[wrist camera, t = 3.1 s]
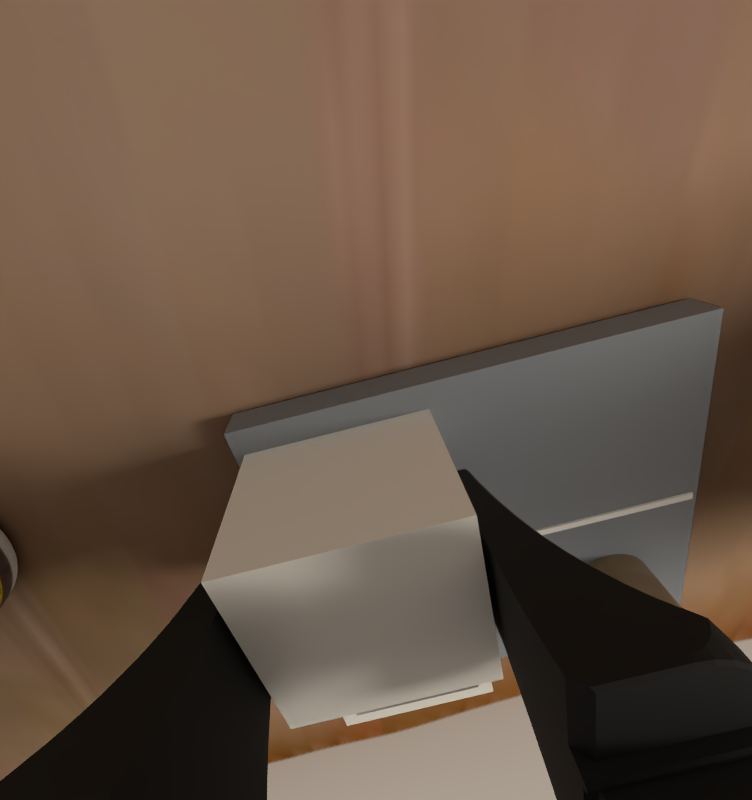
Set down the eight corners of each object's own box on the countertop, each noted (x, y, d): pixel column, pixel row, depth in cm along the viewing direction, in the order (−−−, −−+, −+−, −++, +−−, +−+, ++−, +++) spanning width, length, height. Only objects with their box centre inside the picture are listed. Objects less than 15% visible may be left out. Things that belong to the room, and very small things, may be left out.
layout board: (689, 298, 12) (845, 342, 9) (658, 590, 18) (743, 694, 14) (232, 414, 13) (190, 506, 9) (345, 665, 18) (348, 786, 15)
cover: (429, 408, 12) (477, 515, 8) (456, 545, 14) (503, 679, 10) (244, 455, 12) (200, 582, 8) (302, 582, 14) (291, 729, 10)
